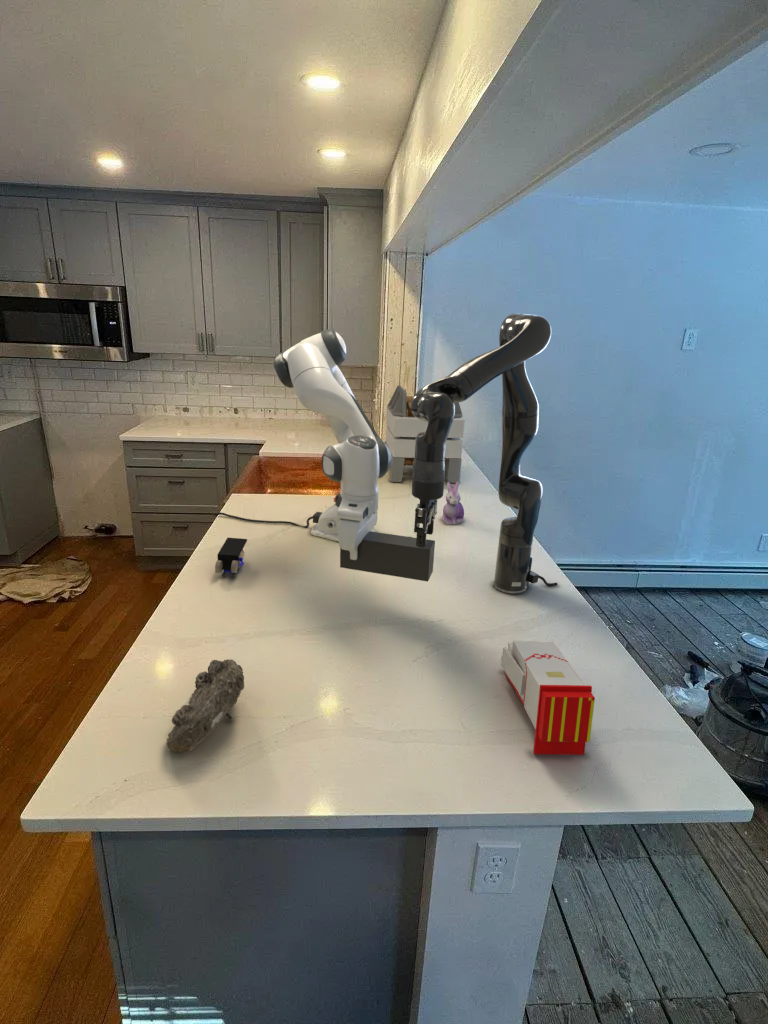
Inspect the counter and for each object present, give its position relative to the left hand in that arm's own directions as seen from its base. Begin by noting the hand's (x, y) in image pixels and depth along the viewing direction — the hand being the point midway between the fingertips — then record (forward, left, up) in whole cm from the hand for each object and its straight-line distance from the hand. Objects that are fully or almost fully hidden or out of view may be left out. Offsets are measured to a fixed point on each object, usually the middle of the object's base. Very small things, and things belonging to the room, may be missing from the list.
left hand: (358, 553), depth 146 cm
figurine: (+13, +74, -15) cm, 76 cm away
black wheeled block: (-41, +7, -15) cm, 45 cm away
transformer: (-13, +133, -15) cm, 135 cm away
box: (+8, 0, -3) cm, 8 cm away
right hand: (+17, 0, +6) cm, 18 cm away
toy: (+47, -26, -15) cm, 56 cm away
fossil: (-12, -50, -15) cm, 54 cm away
